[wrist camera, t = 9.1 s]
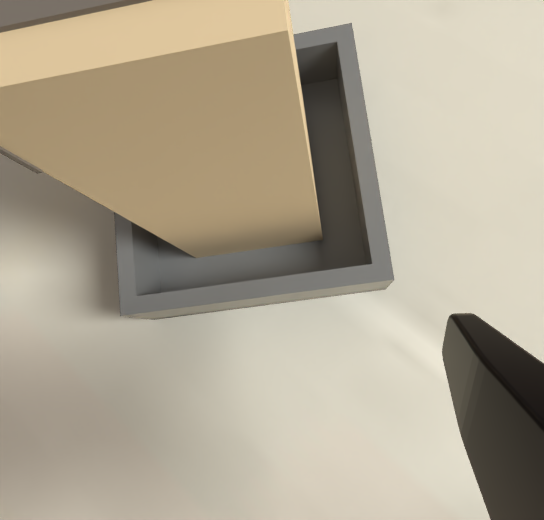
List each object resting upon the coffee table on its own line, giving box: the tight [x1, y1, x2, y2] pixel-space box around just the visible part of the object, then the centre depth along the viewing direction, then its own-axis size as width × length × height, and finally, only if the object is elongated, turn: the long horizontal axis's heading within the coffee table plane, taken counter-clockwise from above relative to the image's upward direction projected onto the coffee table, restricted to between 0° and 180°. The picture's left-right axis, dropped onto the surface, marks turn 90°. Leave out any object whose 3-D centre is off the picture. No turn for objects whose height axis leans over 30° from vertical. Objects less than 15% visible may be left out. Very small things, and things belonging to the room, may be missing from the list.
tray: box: [114, 23, 394, 320], centre depth 18 cm, size 9×9×3 cm
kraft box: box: [0, 0, 323, 258], centre depth 13 cm, size 5×5×13 cm
